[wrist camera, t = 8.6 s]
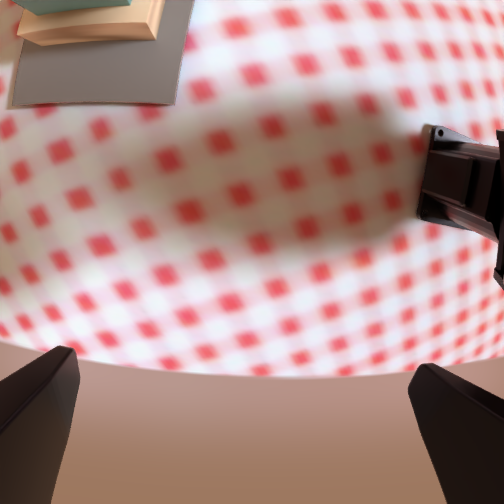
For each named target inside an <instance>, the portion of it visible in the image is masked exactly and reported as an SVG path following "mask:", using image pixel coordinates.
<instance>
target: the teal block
mask: <svg viewBox="0 0 504 504" xmlns="http://www.w3.org/2000/svg"><path fill="white" fill-rule="evenodd" d="M12 1H13V2H15V3H17V4H18V5H20V6H22V7H23V8H25V9H27V10H28V11H30V12H32V13H33V14H35V15H37V16H39V15H44V14H50V13H56V12H63V11H70V10H77V9H86V8H96V7H109V6H129V5H131V1H132V0H12Z"/></svg>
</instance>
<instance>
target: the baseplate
mask: <svg viewBox="0 0 504 504" xmlns="http://www.w3.org/2000/svg"><path fill="white" fill-rule="evenodd" d="M194 1H195V0H165V4H164V8H163V12H162V16H161V21H160V25H159V30H158V34H157V39H156V40H106V41H88V42H75V43H64V44H55V45H47V46H40V45H38V44H36V43H34V42H31V41H29V40H27V39H24V43H23V47H22V52H21V56H20V61H19V66H18V71H17V77H16V83H15V89H14V96H13V103H12V105H13V106H21V105H33V104H48V103H71V102H126V103H150V104H167V105H175V100H176V93H177V87H178V81H179V75H180V69H181V64H182V58H183V53H184V48H185V43H186V38H187V33H188V28H189V23H190V19H191V14H192V10H193V5H194Z"/></svg>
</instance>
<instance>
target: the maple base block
mask: <svg viewBox="0 0 504 504" xmlns="http://www.w3.org/2000/svg"><path fill="white" fill-rule="evenodd" d="M164 4H165V0H132V1H131V5H129V6H109V7H96V8H86V9H77V10H70V11H63V12H56V13H50V14H44V15H39V16H37V15H35V14H33V13H32V12H30V11H28V10H27V9H25V8H24V11H23V14H22V17H21V21H20V24H19V28H18V31H17V35H18V36H20V37H22V38H25V39H27V40H29V41H31V42H34V43H36V44H38V45H40V46H47V45H55V44H64V43H75V42H88V41H106V40H156V39H157V34H158V30H159V25H160V21H161V16H162V12H163V8H164Z"/></svg>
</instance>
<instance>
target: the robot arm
mask: <svg viewBox="0 0 504 504" xmlns="http://www.w3.org/2000/svg"><path fill="white" fill-rule="evenodd" d="M438 131H440V135H438ZM496 135H497V140H498V141H499V147H495V146H488V145H483V144H481V143H478V142H476V141H474V140H472V139H470V138H468V137H466V136H464V135H461V134H459V133H457V132H455V131H452V130H450V129H448V128H445V127H443V126H434V127H433V129H432V133H431V140H430V146H429V152H428V158H427V163H426V169H425V174H424V179H423V184H422V189H421V194H420V198H419V203H418V207H417V213H416V214H417V217H418V218H419V219H421V220H423V221H428V222H433V223H438V224H442V225H447V226H452V227H457V228H461V229H466V230H470V231H474V232H476V233H478V234H481V235H483V236H485V237H487V238H489V239H491V240H493V241H495V242H497V243H498V253H497V262H496V267H495V268H494V275H493V277H494V278H495V280H496V281H497V282H498V284H499V285H500V286H501V287H502V289H503V290H504V129H501V130H496ZM424 210H425V213H424V215H423V211H424ZM79 384H80V373H79V367H78V361H77V356H76V352H75V350H74V349H73V348H70V347H65V346H57V347H55V348H53V349H52V350H50V351H48V352H47V353H45V354H43V355H42V356H40V357H38V358H37V359H35V360H33V361H32V362H30V363H29V364H27V365H26V366H24V367H22V368H20V369H19V370H17V371H16V372H14V373H12V374H11V375H9V376H8V377H6V378H4V379H3V380H1V381H0V504H51V500H52V496H53V491H54V488H55V484H56V480H57V476H58V473H59V469H60V465H61V462H62V458H63V455H64V451H65V448H66V445H67V441H68V437H69V433H70V428H71V423H72V417H73V412H74V407H75V402H76V398H77V393H78V389H79ZM408 395H409V398H410V401H411V404H412V407H413V410H414V413H415V417H416V420H417V423H418V427H419V430H420V433H421V436H422V438H423V441H424V444H425V446H426V449H427V451H428V454H429V456H430V459H431V461H432V464H433V467H434V469H435V471H436V474H437V477H438V480H439V483H440V485H441V488H442V491H443V493H444V496H445V499H446V502H447V504H504V399H501V398H500V397H498V396H496V395H494V394H492V393H490V392H488V391H486V390H484V389H482V388H480V387H478V386H476V385H474V384H472V383H471V382H469V381H466V380H464V379H463V378H461V377H459V376H457V375H455V374H453V373H451V372H449V371H447V370H445V369H443V368H442V367H440V366H438V365H436V364H434V363H425V364H421V365H420V366H419V367H418V368H417V370H416V372H415V374H414V376H413V378H412V380H411V382H410V384H409V386H408Z"/></svg>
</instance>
